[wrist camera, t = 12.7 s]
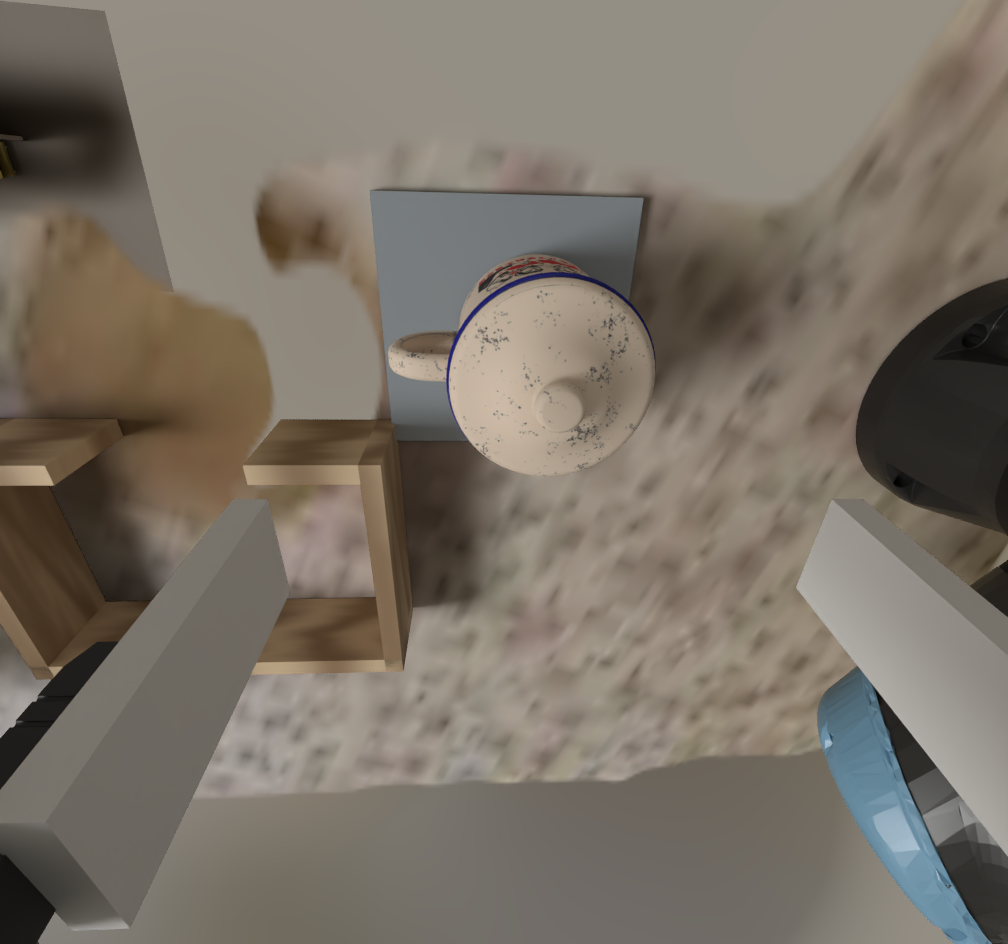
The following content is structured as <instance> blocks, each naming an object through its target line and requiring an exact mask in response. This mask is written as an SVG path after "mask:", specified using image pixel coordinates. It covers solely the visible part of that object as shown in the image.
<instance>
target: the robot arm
mask: <svg viewBox="0 0 1008 944" xmlns="http://www.w3.org/2000/svg"><path fill="white" fill-rule="evenodd" d="M856 444H857V450H858V454H859V457H860V459H861V462H862V464H863V466H864V467H865V469H866V470H867V472H868V473H869V474H870V475H871V476H872V477H873V478H874V479H875V480H876V481H877V482H879V483H880V484H881V485H883V486H884V487H886V488H887V489H888V490H890V491H891V492H892V493H894V494H895V495H896V496H898V497H899V498H901V499H903V500H905V501H907V502H909V503H911V504H913V505H915V506H918V507H921V508H924V509H927V510H930V511H934V512H937V513H940V514H943V515H947V516H950V517H953V518H956V519H960V520H963V521H966V522H969V523H973V524H976V525H979V526H982V527H986V528H989V529H992V530H995V531H999V532H1002V533H1004V534H1006V535H1007V536H1008V279H1006V280H1002V281H998V282H995V283H992V284H988V285H986V286H983V287H980V288H978V289H975V290H973V291H971V292H969V293H967V294H965V295H963V296H961V297H959V298H957V299H955V300H953V301H952V302H950V303H948V304H947V305H945V306H944V307H942V308H940V309H939V310H937V311H936V312H935V313H933V314H932V315H930V316H929V317H928V318H927V319H925V320H924V321H923V322H922V323H920V324H919V325H918V326H917V327H916V328H915V329H913V330H912V331H911V332H910V333H909V334H908V335H907V336H906V337H905V338H904V339H903V340H902V341H901V342H900V343H899V344H898V345H897V346H896V347H895V349H894V350H893V351H892V352H891V353H890V355H889V356H888V357H887V359H886V360H885V361H884V363H883V364H882V365H881V367H880V368H879V370H878V371H877V373H876V375H875V376H874V378H873V380H872V381H871V383H870V385H869V387H868V389H867V391H866V394H865V396H864V398H863V401H862V404H861V407H860V411H859V414H858V419H857V426H856ZM999 567H1000V568H999ZM999 567H996V568H995V569H993V570H992V571H990V572H989V573H987V574H986V575H985V576H983V577H982V578H980V579H979V580H977V581H976V582H975V583H973V584H972V585H970V586H969V585H967V584H966V583H965V582H964V581H963V580H961V579H960V578H959V577H958V576H956V575H955V574H954V573H953V572H952V571H950V570H949V569H948V568H947V567H945V566H944V565H943V564H942V563H940V562H939V561H938V560H937V559H936V558H934V557H933V556H932V555H931V554H929V553H928V552H927V551H926V550H925V549H923V548H922V547H921V546H920V545H918V544H917V543H916V542H915V541H914V540H912V539H911V538H910V537H909V536H907V535H906V534H905V533H904V532H902V531H901V530H900V529H899V528H898V527H896V526H895V525H894V524H893V523H891V522H890V521H889V520H888V519H887V518H885V517H884V516H883V515H882V514H880V513H879V512H878V511H877V510H875V509H874V508H873V507H872V506H871V505H869V504H868V503H867V502H866V501H864V500H863V499H832V500H831V503H830V505H829V508H828V510H827V513H826V515H825V518H824V520H823V523H822V525H821V528H820V530H819V532H818V535H817V537H816V540H815V542H814V545H813V547H812V550H811V552H810V555H809V557H808V560H807V562H806V564H805V567H804V569H803V572H802V574H801V577H800V579H799V582H798V584H797V587H796V588H797V589H798V591H799V592H800V593H801V594H802V596H803V597H804V598H805V600H806V601H807V602H808V603H809V605H810V606H811V607H812V608H813V610H814V611H815V612H816V614H817V615H818V616H819V617H820V619H821V620H822V621H823V622H824V624H825V625H826V626H827V627H828V629H829V630H830V631H831V633H832V634H833V635H834V636H835V638H836V639H837V640H838V641H839V643H840V644H841V645H842V647H843V648H844V649H845V650H846V652H847V653H848V654H849V655H850V657H851V658H852V659H853V661H854V662H855V663H856V664H857V666H856V667H855V668H854V669H853V670H851V671H850V672H849V673H848V674H846V675H845V676H844V677H843V678H841V679H840V680H839V681H838V682H836V683H835V684H834V685H833V686H831V687H830V688H829V689H828V690H827V691H826V692H825V693H824V695H823V697H822V698H821V700H820V703H819V706H818V712H817V724H818V733H819V737H820V741H821V745H822V748H823V751H824V753H825V756H826V759H827V763H828V766H829V768H830V771H831V773H832V776H833V778H834V780H835V782H836V785H837V786H838V789H839V791H840V793H841V795H842V797H843V799H844V801H845V803H846V805H847V807H848V808H849V810H850V812H851V813H852V815H853V817H854V819H855V821H856V823H857V824H858V826H859V828H860V829H861V831H862V833H863V834H864V836H865V838H866V839H867V841H868V842H869V844H870V846H871V847H872V848H873V850H874V852H875V853H876V855H877V856H878V858H879V859H880V860H881V862H882V863H883V865H884V866H885V867H886V869H887V870H888V872H889V873H890V875H891V876H892V878H893V879H894V880H895V881H896V883H897V884H898V886H899V887H900V888H901V889H902V891H903V892H904V893H905V894H906V895H907V897H908V898H909V899H910V901H911V902H912V903H913V904H914V905H915V906H916V907H917V908H918V910H919V911H920V912H921V913H922V914H923V915H924V916H925V917H926V918H927V919H928V920H929V921H930V922H931V923H932V924H933V925H935V926H937V927H939V928H941V929H942V931H943V932H944V934H945V935H946V937H947V938H948V939H949V940H951V941H952V942H954V943H955V944H1008V560H1007V561H1006V562H1004V563H1003V564H1002V565H1000V566H999ZM289 593H290V589H289V585H288V581H287V576H286V572H285V568H284V564H283V560H282V556H281V552H280V548H279V544H278V540H277V535H276V531H275V527H274V523H273V519H272V515H271V511H270V507H269V503H268V500H232V501H231V503H230V504H229V505H228V506H227V508H226V509H225V510H224V511H223V513H222V514H221V515H220V516H219V518H218V519H217V520H216V521H215V523H214V524H213V525H212V526H211V528H210V529H209V530H208V531H207V533H206V534H205V535H204V536H203V538H202V539H201V540H200V541H199V543H198V544H197V545H196V546H195V548H194V549H193V550H192V551H191V553H190V554H189V555H188V556H187V558H186V559H185V560H184V561H183V563H182V564H181V565H180V566H179V568H178V569H177V570H176V571H175V573H174V574H173V575H172V576H171V578H170V579H169V580H168V581H167V583H166V584H165V585H164V586H163V588H162V589H161V590H160V591H159V593H158V594H157V595H156V596H155V598H154V599H153V600H152V601H151V603H150V604H149V605H148V606H147V608H146V609H145V610H144V611H143V613H142V614H141V615H140V616H139V617H138V619H137V620H136V621H135V622H134V624H133V625H132V626H131V627H130V629H129V630H128V631H127V632H126V634H125V635H124V636H123V637H122V639H121V640H120V641H112V642H96V643H95V644H94V645H92V646H91V647H89V648H88V649H87V650H85V651H84V652H83V653H81V654H80V655H78V656H77V657H76V658H74V659H73V660H72V661H70V662H69V663H68V664H66V665H65V666H63V668H62V669H61V670H60V671H59V672H58V673H57V674H56V675H55V677H54V678H53V679H52V680H51V681H50V682H49V683H48V685H47V686H46V687H45V688H44V689H43V690H42V691H41V693H40V694H39V695H38V699H37V701H36V702H32V703H31V704H30V705H29V706H28V707H27V709H26V710H25V711H24V712H23V713H22V714H21V715H20V717H19V718H18V719H17V720H16V725H15V726H14V727H13V728H9V729H8V730H7V731H6V733H5V734H4V735H3V736H2V737H1V738H0V944H39V943H38V940H39V938H40V936H41V934H42V933H43V931H44V929H45V928H46V926H47V924H48V923H49V921H50V919H51V917H52V916H53V914H54V912H56V913H57V914H58V916H59V917H60V918H61V919H62V920H63V921H64V922H65V923H66V924H67V925H68V926H69V927H70V929H71V930H99V929H126V928H130V927H131V925H132V923H133V921H134V919H135V917H136V915H137V913H138V911H139V909H140V906H141V904H142V902H143V900H144V898H145V896H146V894H147V892H148V889H149V888H150V885H151V883H152V881H153V879H154V877H155V875H156V873H157V871H158V869H159V866H160V864H161V862H162V860H163V858H164V856H165V854H166V852H167V850H168V848H169V845H170V843H171V841H172V839H173V837H174V835H175V833H176V831H177V829H178V827H179V824H180V822H181V820H182V818H183V816H184V814H185V812H186V810H187V808H188V806H189V803H190V801H191V799H192V797H193V795H194V793H195V791H196V789H197V787H198V785H199V782H200V780H201V778H202V776H203V774H204V772H205V770H206V768H207V766H208V764H209V761H210V759H211V757H212V755H213V753H214V751H215V749H216V747H217V745H218V743H219V740H220V738H221V736H222V734H223V732H224V730H225V728H226V726H227V724H228V722H229V719H230V717H231V715H232V713H233V711H234V709H235V707H236V705H237V703H238V701H239V698H240V696H241V694H242V692H243V690H244V688H245V686H246V684H247V682H248V679H249V677H250V675H251V673H252V671H253V669H254V667H255V665H256V663H257V661H258V658H259V656H260V654H261V652H262V650H263V648H264V646H265V644H266V642H267V640H268V637H269V635H270V633H271V631H272V629H273V627H274V625H275V623H276V621H277V619H278V616H279V614H280V612H281V610H282V608H283V606H284V604H285V602H286V600H287V598H288V595H289Z"/></svg>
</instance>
